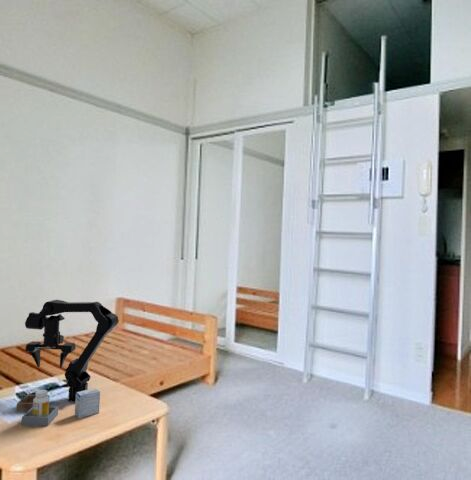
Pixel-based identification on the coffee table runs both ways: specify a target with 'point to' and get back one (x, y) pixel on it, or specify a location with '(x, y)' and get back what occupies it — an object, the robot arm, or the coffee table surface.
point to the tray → (39, 418)
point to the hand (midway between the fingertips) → (49, 367)
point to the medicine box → (87, 402)
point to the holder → (26, 403)
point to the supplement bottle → (41, 404)
